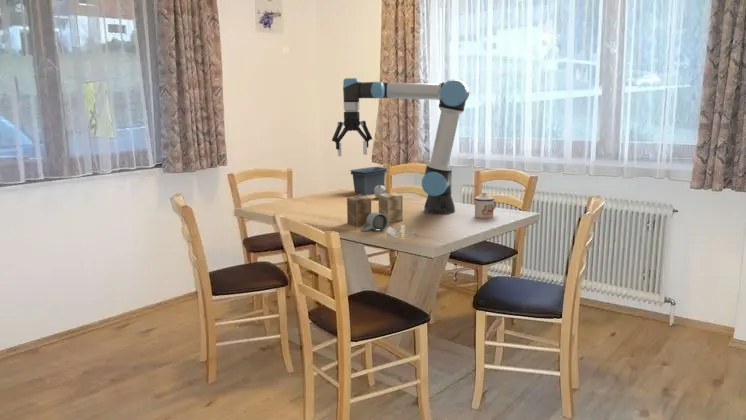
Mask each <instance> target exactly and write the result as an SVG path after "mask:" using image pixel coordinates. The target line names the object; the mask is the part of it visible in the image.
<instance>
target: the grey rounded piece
mask: <svg viewBox="0 0 746 420" xmlns="http://www.w3.org/2000/svg"><path fill="white" fill-rule="evenodd" d="M372 191H373V190H372ZM373 193H374V194H373V195H374V196H375V198H374V199H375V200H376V199H379V194H386V193H389V192H388V190H387V189H386V184H384V185H376V187H375V189H374V192H373Z"/></svg>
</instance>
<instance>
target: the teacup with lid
mask: <svg viewBox="0 0 746 420" xmlns="http://www.w3.org/2000/svg"><path fill="white" fill-rule="evenodd" d="M496 208H497V201H496V200H495V198H494V197H493V196H491V195H489V194H487V191H483V192H482V193H481V194H480V195H478V196H475V197H474V217H476V218H477V219H491V218H493V217H494V211H495V209H496Z"/></svg>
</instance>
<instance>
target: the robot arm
mask: <svg viewBox="0 0 746 420" xmlns="http://www.w3.org/2000/svg"><path fill="white" fill-rule="evenodd" d="M342 86H343V88H342V92H343V95H342V96H343V111H344V112H343V121H338V122H337V126H336V129H335V132H334V134H333V136H332V139H331V141H332V142H334V143H335V149H336V150H337V156H338V157H340V158H341V157H342V142H341V141H342V139H344V137H345V135H346V134H347V133H348V132H352V131H353V132H355V131H356V132H357V133H358V134H359V135H360V137H361V138H362V139H363V140H362V151H363V156H367V155H368V148H369V142H370V141H371V140H373V137H372V135H371V133H370V131H369V129H368V127H367V123H366V120H361V121H360V99H376V100H377V99H406V100H407V99H408V100H430V101H431V100H432V101H433V100H434V101H435V100H437V101H439V102H438V103H439V104H438V109H439V110H440V115H439V120H438V123H437V124H438V125H437V128H436V135H435V139H434V144H433V149H432V152H431V158H430V162H428V163H427V164H426V167H425V171H424V176H423V177H422V179H421V188H422V189H423V191H424V192H425V193H426V194H427V197H426V201H425V203H424V208H423V210H424V212H425V213H428V214H437V215H438V214H441V215H444V214H452V213H454V212H455V211H456V206H455V203H454V201H453V197H452V178H453V177H452V176H453V175H452V173H453V170H452V166H451V165H449V164H450V160H451V156H452V151H453V147H454V141H455V136H456V132H457V128H458V122H459V119H460V115H461V114H463V113H464V110H465V108H466V107H465V106H466V103H467V102H466V101H467V100H468V98H469V95H470V88H469V86H468V84H467V83H466V82H464V81H463V80H462V79H457V78H456V79H455V78H452V79H449V80H447V81H440V83H423V82H422V83H420V82H419V83H418V82H417V83H416V82H382V81H371V82H370V81H367V82H361V81H360V80H359V78H357V77H353V78H352V77H349V78H347V77H346V78H344V79H343V85H342ZM343 126H344V128H343ZM360 126H361V127H362V128H360ZM342 128H343V129H342ZM340 132H341V133H340Z"/></svg>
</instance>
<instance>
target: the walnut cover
mask: <svg viewBox="0 0 746 420" xmlns="http://www.w3.org/2000/svg"><path fill="white" fill-rule="evenodd" d="M346 202H347V203H346V209H347V210H346V211H347V212H346V213H347V215H346V216H347V224H348V225H350V226H354V227H362V226H361V225H364V224H366V223H367V217H368V215H369V214H371V213H372V198H371V197H368V196H366V195H357V196H347V197H346Z"/></svg>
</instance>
